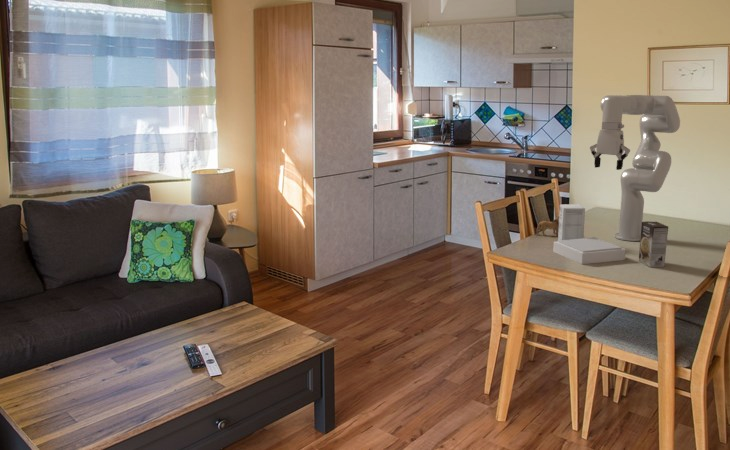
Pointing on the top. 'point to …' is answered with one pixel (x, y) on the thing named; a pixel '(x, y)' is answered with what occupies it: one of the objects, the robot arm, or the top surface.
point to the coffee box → (653, 244)
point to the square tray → (589, 250)
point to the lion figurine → (548, 226)
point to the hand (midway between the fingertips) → (608, 168)
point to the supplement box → (571, 221)
